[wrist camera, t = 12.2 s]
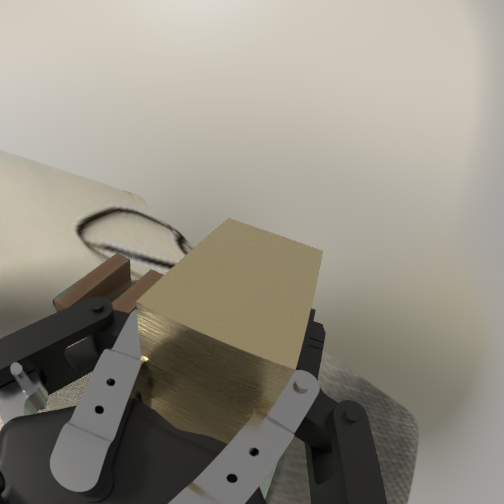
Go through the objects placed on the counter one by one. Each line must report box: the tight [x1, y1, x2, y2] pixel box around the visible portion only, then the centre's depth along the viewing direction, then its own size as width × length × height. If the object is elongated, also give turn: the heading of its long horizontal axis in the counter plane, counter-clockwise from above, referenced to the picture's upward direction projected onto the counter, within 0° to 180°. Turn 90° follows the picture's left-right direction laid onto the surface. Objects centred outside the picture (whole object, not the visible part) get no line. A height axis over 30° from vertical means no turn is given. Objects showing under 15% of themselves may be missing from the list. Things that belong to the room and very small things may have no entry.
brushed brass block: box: [136, 218, 323, 444], centre depth 11 cm, size 4×6×10 cm, turn 162°
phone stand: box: [54, 253, 164, 313], centre depth 25 cm, size 7×10×4 cm
